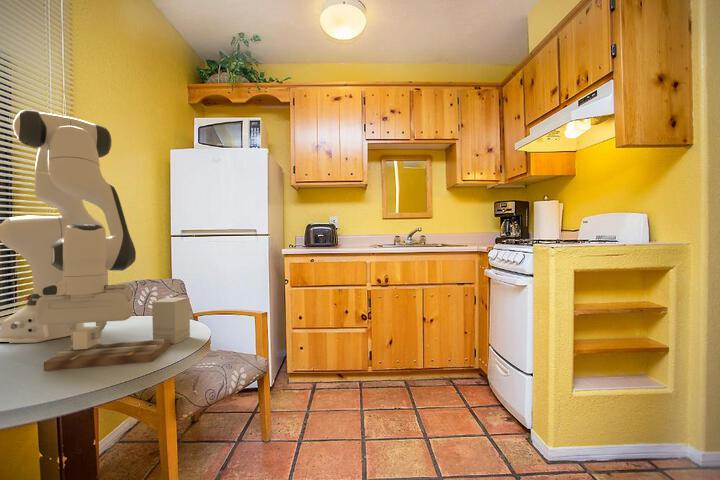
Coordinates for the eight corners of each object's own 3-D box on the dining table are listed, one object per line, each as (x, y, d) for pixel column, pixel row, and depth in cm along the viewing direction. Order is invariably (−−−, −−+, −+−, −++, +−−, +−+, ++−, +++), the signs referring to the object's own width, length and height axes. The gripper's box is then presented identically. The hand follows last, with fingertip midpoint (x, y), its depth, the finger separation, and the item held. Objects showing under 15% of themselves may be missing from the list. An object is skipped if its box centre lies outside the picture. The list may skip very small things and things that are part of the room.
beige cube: (68, 354, 79) (68, 332, 79) (81, 347, 84) (81, 327, 84) (91, 352, 80) (91, 331, 80) (103, 346, 85) (103, 325, 85)
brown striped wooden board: (43, 370, 75) (43, 357, 75) (77, 353, 86) (76, 342, 86) (152, 361, 80) (152, 349, 80) (170, 346, 91) (170, 335, 91)
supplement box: (190, 337, 100) (190, 297, 100) (175, 344, 93) (174, 301, 93) (169, 336, 101) (168, 297, 101) (151, 344, 94) (151, 301, 94)
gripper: (137, 282, 87) (137, 333, 87) (49, 285, 83) (49, 338, 83) (125, 286, 81) (125, 340, 81) (29, 289, 77) (30, 346, 76)
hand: (86, 339), depth 82 cm, fingers closed on beige cube, 3 cm apart
